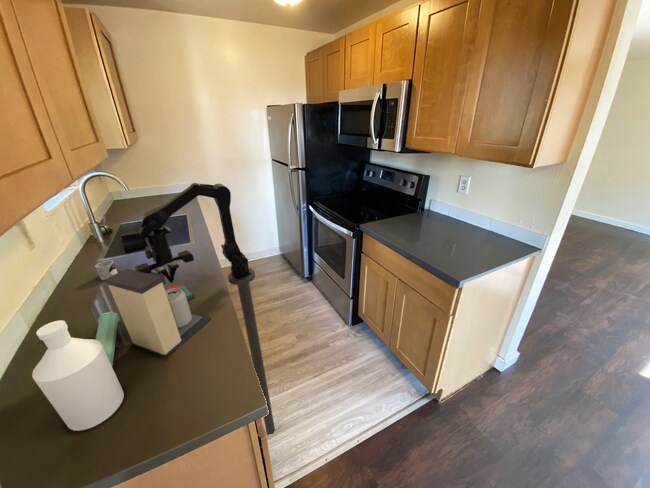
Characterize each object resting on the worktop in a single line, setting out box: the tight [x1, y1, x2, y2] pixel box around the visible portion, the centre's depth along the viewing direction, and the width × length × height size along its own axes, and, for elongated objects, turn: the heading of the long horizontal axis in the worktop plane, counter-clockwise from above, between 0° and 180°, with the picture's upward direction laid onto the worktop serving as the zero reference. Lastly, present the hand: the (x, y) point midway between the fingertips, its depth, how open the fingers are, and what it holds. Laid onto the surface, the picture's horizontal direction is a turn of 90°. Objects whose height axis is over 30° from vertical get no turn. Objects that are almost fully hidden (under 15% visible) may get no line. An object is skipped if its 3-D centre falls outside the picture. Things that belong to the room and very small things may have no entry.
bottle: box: [31, 319, 125, 432], centre depth 63 cm, size 12×12×25 cm
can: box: [165, 288, 192, 328], centre depth 91 cm, size 8×8×12 cm
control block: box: [165, 285, 194, 301], centre depth 108 cm, size 10×9×4 cm
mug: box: [94, 259, 119, 281], centre depth 127 cm, size 10×7×7 cm
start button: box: [167, 284, 179, 290], centre depth 107 cm, size 4×4×2 cm
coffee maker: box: [103, 268, 212, 359], centre depth 86 cm, size 18×15×24 cm
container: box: [95, 311, 121, 367], centre depth 85 cm, size 6×6×25 cm
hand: (171, 282), depth 106 cm, fingers closed
